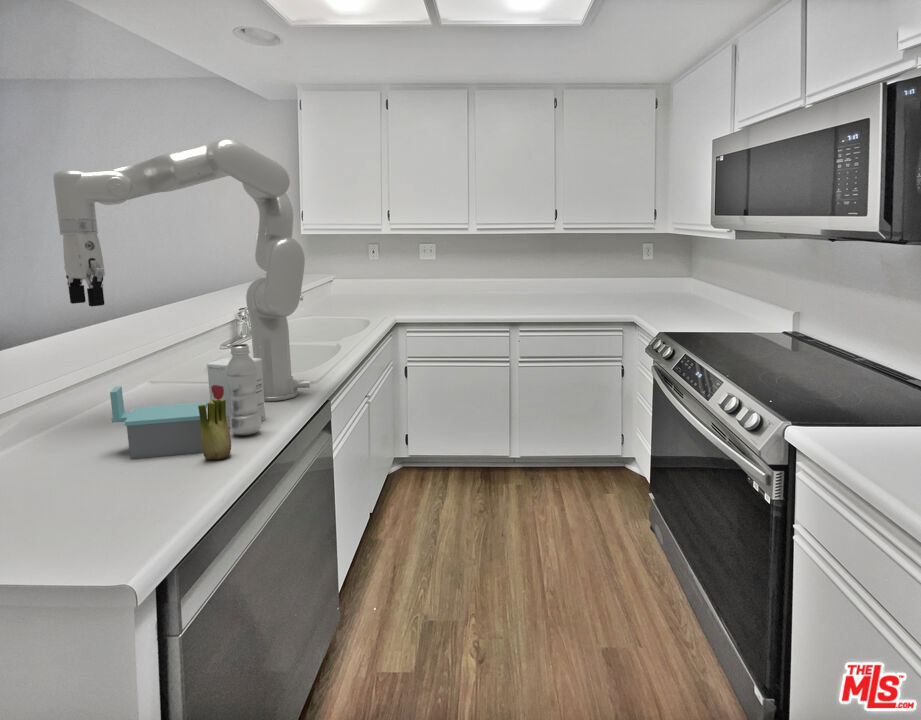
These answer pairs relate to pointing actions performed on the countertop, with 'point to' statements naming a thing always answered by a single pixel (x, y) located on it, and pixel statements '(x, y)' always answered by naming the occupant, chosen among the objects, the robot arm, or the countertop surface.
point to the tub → (164, 439)
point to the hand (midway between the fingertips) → (87, 304)
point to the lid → (152, 411)
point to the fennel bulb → (215, 430)
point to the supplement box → (221, 385)
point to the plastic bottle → (243, 391)
